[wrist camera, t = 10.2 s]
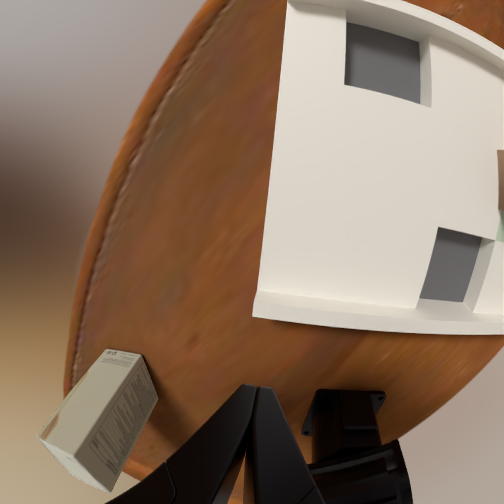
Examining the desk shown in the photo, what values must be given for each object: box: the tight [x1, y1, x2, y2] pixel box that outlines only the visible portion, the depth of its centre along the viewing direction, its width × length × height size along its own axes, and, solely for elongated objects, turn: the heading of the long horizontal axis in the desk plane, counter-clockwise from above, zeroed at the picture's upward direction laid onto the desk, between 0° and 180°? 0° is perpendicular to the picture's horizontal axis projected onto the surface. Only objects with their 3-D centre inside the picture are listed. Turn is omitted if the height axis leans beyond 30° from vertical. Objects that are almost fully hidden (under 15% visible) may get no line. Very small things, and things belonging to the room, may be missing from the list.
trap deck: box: [252, 0, 504, 335], centre depth 13 cm, size 20×22×4 cm
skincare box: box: [36, 349, 158, 493], centre depth 18 cm, size 6×4×12 cm
